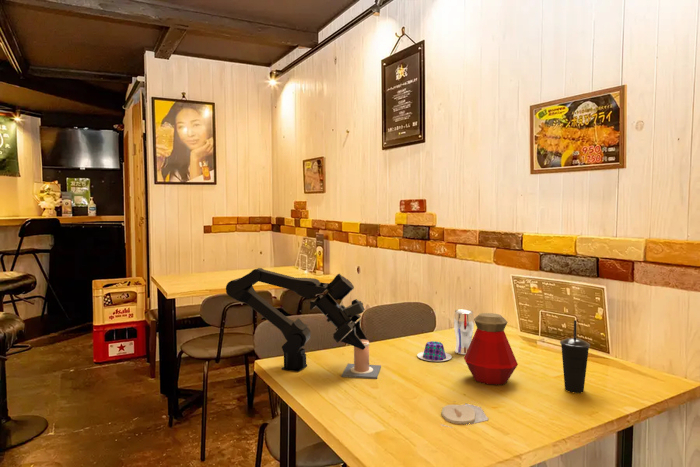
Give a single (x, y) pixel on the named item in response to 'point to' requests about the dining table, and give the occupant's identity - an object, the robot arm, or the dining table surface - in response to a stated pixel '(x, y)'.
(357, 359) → the terracotta tube
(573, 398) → the dining table surface
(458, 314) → the beer glass
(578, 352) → the drinking cup
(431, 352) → the pudding
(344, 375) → the card
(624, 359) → the dining table surface
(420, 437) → the dining table surface
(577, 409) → the dining table surface
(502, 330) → the bottle
